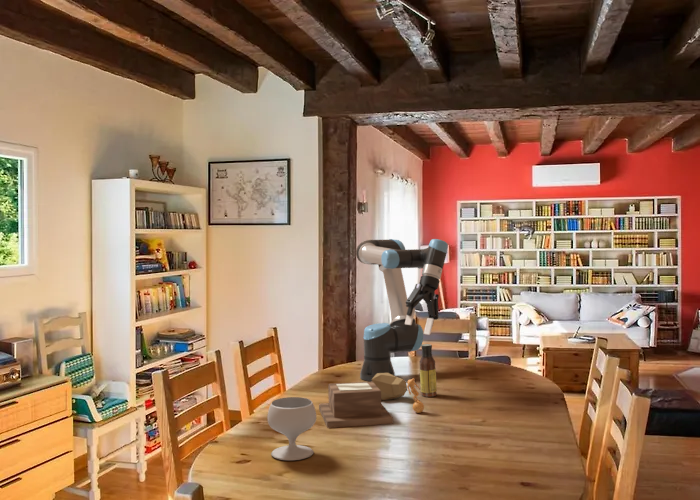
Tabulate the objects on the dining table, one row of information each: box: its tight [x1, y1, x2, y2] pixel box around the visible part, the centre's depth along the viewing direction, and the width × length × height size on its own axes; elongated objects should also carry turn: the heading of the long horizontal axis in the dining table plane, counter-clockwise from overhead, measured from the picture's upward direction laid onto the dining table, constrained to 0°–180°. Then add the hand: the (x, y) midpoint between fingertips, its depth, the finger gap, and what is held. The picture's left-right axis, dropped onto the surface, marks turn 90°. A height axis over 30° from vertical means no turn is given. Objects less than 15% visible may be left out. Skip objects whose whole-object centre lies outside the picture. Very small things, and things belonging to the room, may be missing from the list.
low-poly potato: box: [371, 373, 408, 401], centre depth 236 cm, size 15×11×12 cm
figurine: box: [406, 377, 425, 414], centre depth 217 cm, size 8×6×12 cm
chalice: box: [266, 396, 317, 461], centre depth 177 cm, size 14×14×15 cm
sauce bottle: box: [419, 343, 438, 398], centre depth 240 cm, size 6×6×20 cm
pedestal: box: [318, 381, 394, 429], centre depth 214 cm, size 22×22×10 cm
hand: (417, 329), depth 237 cm, fingers open, 13 cm apart
